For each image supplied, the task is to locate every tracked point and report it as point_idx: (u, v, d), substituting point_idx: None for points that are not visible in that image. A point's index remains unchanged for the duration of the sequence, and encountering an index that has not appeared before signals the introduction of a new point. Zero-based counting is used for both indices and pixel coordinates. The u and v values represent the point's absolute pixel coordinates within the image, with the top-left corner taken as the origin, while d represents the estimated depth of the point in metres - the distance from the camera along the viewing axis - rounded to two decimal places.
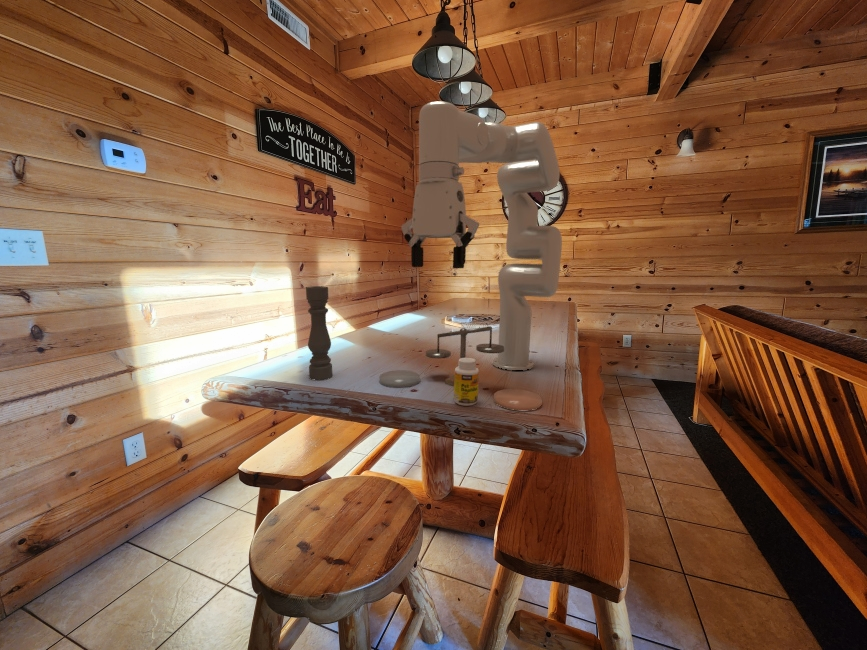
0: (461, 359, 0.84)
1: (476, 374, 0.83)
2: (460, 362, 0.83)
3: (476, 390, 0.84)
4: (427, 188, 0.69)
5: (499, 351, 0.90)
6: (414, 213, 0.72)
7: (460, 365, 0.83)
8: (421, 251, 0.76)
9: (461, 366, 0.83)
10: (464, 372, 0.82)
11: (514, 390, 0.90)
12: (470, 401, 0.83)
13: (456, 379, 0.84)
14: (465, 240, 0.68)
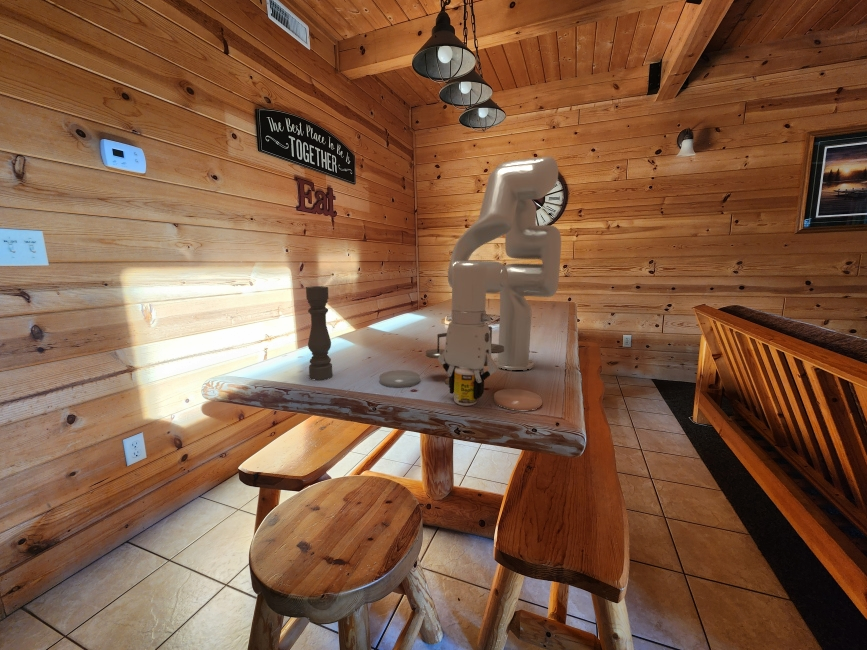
0: None
1: None
2: None
3: None
4: (459, 330, 0.81)
5: (499, 351, 0.90)
6: (446, 346, 0.84)
7: None
8: None
9: None
10: (464, 372, 0.82)
11: (514, 390, 0.90)
12: (470, 401, 0.83)
13: (456, 379, 0.83)
14: (484, 378, 0.81)
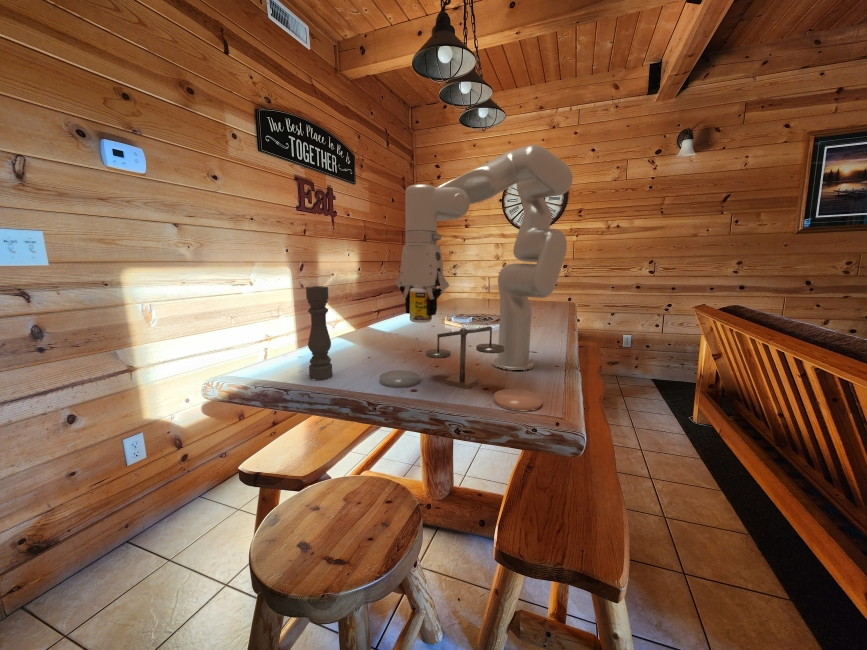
0: None
1: None
2: None
3: None
4: (412, 250, 0.87)
5: (499, 351, 0.90)
6: (402, 267, 0.90)
7: None
8: None
9: None
10: (417, 290, 0.88)
11: (514, 390, 0.90)
12: (424, 318, 0.89)
13: (411, 298, 0.90)
14: (436, 294, 0.88)
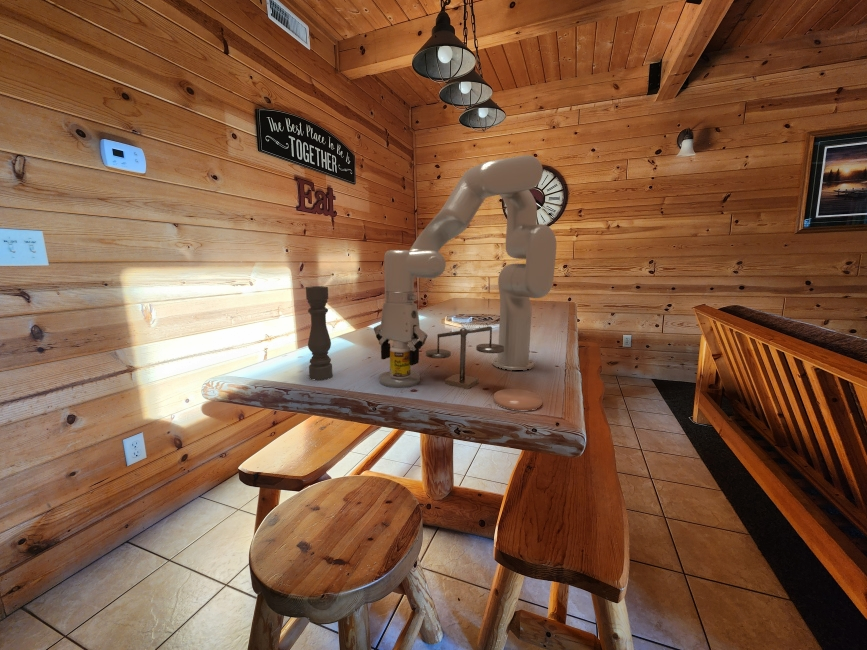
0: None
1: (407, 352, 0.97)
2: (394, 341, 0.97)
3: (408, 366, 0.98)
4: (391, 308, 0.95)
5: (499, 351, 0.90)
6: (382, 322, 0.98)
7: (394, 344, 0.97)
8: (388, 347, 1.02)
9: (394, 345, 0.97)
10: (396, 350, 0.96)
11: (514, 390, 0.90)
12: (402, 375, 0.97)
13: (390, 356, 0.98)
14: (417, 346, 0.94)
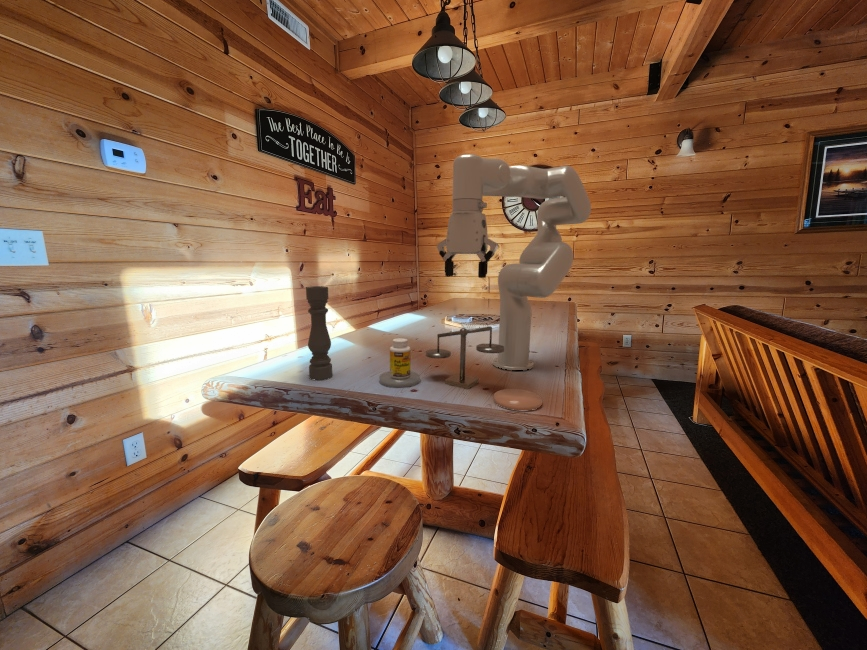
0: (395, 339, 0.98)
1: (407, 352, 0.97)
2: (393, 341, 0.97)
3: (408, 365, 0.98)
4: (459, 218, 0.92)
5: (499, 351, 0.90)
6: (448, 235, 0.94)
7: (394, 344, 0.97)
8: (452, 264, 0.98)
9: (394, 345, 0.97)
10: (396, 350, 0.96)
11: (514, 390, 0.90)
12: (402, 375, 0.97)
13: (390, 356, 0.98)
14: (487, 257, 0.91)
